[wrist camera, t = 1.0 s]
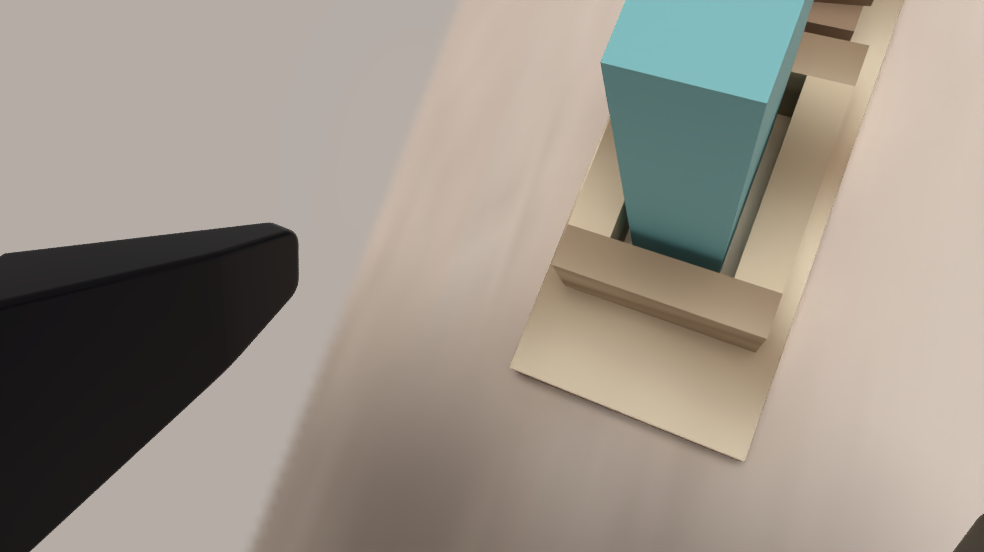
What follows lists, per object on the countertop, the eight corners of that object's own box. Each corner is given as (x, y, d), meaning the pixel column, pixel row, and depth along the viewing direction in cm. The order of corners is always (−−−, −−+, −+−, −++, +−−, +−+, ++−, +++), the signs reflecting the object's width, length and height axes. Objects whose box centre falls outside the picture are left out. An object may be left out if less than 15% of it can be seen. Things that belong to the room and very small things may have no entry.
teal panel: (717, 280, 20) (766, 103, 10) (634, 253, 21) (600, 62, 11) (773, 125, 21) (874, -190, 11) (690, 104, 22) (710, -210, 12)
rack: (740, 460, 20) (755, 462, 17) (517, 371, 22) (489, 356, 19) (926, -77, 23) (973, -173, 19) (709, -112, 25) (715, -204, 21)
